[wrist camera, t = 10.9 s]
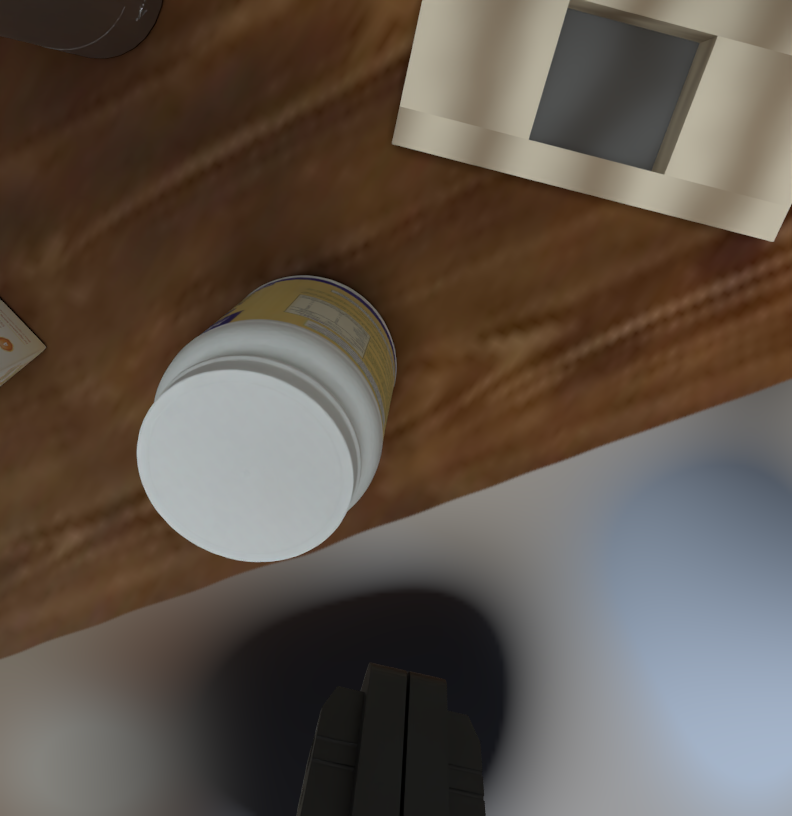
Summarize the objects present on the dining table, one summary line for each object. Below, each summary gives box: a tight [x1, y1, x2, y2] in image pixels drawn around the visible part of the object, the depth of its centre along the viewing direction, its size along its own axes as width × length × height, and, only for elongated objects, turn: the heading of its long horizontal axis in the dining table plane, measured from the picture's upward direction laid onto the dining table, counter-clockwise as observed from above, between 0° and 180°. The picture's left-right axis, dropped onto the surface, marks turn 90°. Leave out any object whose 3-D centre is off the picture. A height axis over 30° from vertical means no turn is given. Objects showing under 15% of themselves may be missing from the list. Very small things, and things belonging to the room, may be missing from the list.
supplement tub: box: [137, 275, 397, 562], centre depth 36 cm, size 12×12×17 cm
